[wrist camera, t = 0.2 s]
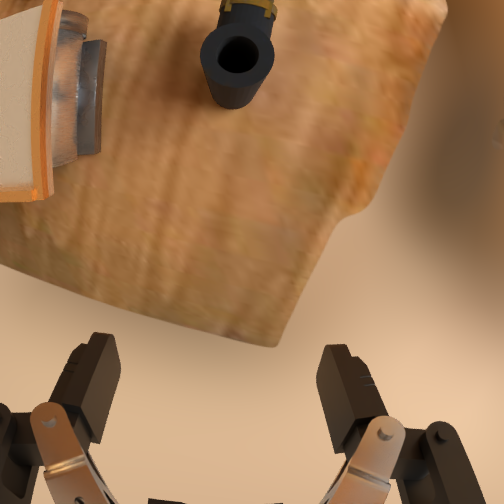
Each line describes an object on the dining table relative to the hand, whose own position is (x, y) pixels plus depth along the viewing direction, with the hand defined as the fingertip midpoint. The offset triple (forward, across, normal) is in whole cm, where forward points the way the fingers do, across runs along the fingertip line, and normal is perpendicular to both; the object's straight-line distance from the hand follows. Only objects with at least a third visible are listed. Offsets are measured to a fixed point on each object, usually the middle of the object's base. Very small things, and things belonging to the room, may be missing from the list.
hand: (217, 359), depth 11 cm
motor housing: (+29, +22, -10) cm, 38 cm away
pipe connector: (+29, 0, -14) cm, 32 cm away
